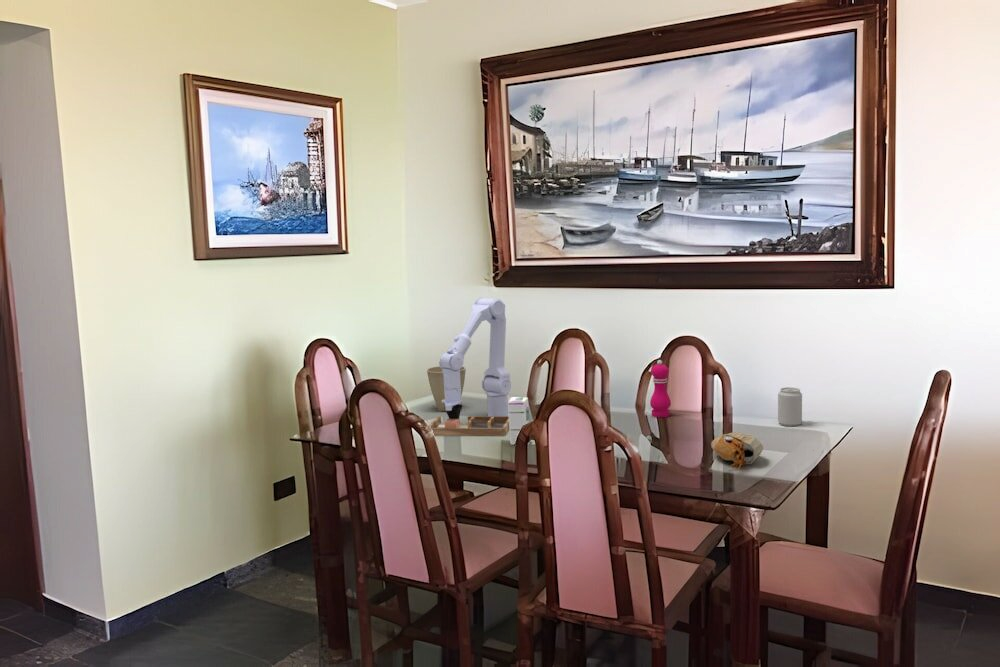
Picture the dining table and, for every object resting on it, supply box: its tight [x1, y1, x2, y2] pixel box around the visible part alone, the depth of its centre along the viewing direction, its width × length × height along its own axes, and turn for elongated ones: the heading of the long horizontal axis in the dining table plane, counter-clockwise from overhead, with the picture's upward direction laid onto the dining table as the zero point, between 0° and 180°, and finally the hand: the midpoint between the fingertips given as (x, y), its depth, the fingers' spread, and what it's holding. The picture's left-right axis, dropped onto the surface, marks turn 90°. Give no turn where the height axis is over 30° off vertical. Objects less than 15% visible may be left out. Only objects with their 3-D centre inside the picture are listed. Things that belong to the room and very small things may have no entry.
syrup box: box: [508, 396, 530, 446], centre depth 259 cm, size 6×6×14 cm
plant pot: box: [426, 365, 466, 412], centre depth 309 cm, size 15×15×16 cm
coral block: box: [444, 418, 460, 428], centre depth 274 cm, size 4×4×4 cm
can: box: [777, 386, 803, 427], centre depth 267 cm, size 8×8×12 cm
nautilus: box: [710, 432, 764, 472], centre depth 229 cm, size 8×22×15 cm
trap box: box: [428, 415, 509, 437], centre depth 277 cm, size 17×27×3 cm, turn 80°
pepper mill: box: [649, 359, 672, 418], centre depth 285 cm, size 7×7×20 cm
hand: (454, 426), depth 278 cm, fingers closed
